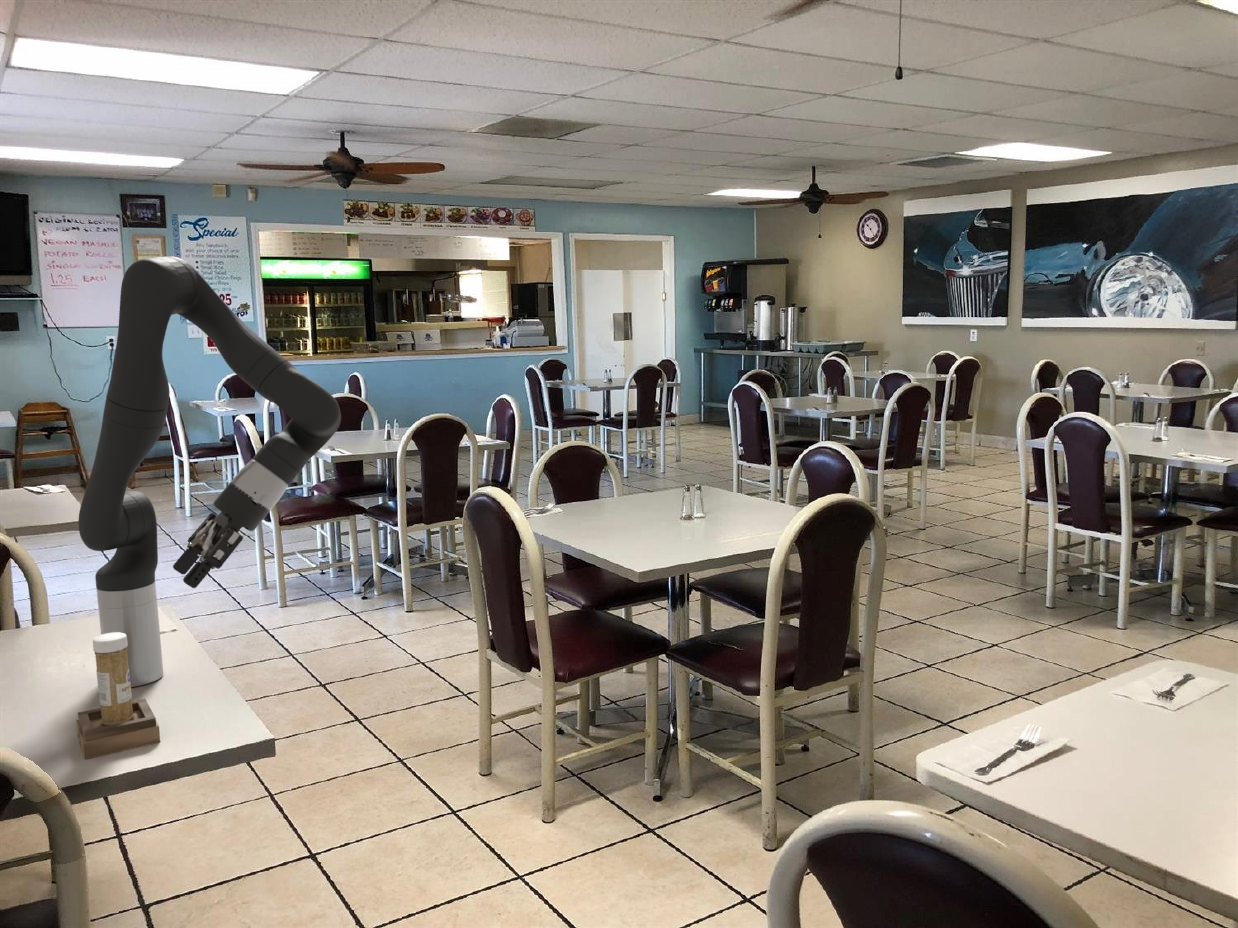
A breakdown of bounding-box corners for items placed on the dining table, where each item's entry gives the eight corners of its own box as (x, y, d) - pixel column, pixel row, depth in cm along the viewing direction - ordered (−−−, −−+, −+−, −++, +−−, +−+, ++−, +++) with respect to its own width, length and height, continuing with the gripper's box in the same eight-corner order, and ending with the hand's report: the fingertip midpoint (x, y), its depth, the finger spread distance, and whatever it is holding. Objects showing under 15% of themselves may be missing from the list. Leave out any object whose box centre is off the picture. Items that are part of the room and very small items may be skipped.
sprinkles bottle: (136, 722, 148) (128, 637, 146) (102, 730, 145) (94, 643, 143) (132, 712, 151) (124, 629, 149) (99, 719, 149) (90, 634, 147)
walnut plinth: (77, 735, 149) (75, 712, 149) (148, 719, 155) (146, 697, 154) (85, 759, 141) (82, 735, 141) (160, 741, 147) (158, 718, 146)
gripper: (222, 474, 159) (154, 554, 155) (243, 488, 147) (170, 576, 143) (259, 500, 163) (193, 580, 159) (282, 516, 151) (212, 603, 147)
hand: (182, 578), depth 151 cm, fingers open, 8 cm apart
